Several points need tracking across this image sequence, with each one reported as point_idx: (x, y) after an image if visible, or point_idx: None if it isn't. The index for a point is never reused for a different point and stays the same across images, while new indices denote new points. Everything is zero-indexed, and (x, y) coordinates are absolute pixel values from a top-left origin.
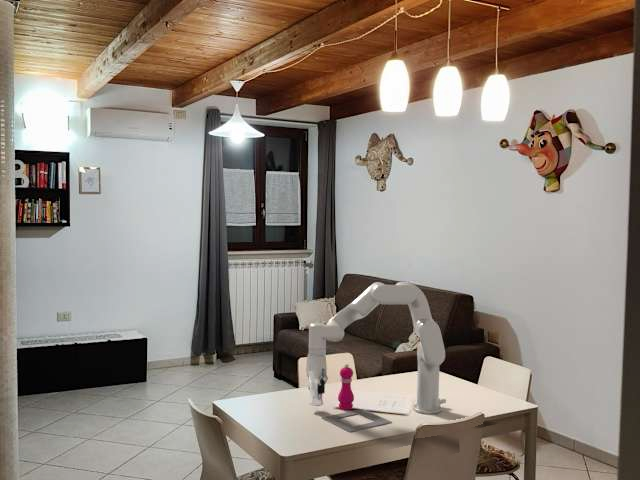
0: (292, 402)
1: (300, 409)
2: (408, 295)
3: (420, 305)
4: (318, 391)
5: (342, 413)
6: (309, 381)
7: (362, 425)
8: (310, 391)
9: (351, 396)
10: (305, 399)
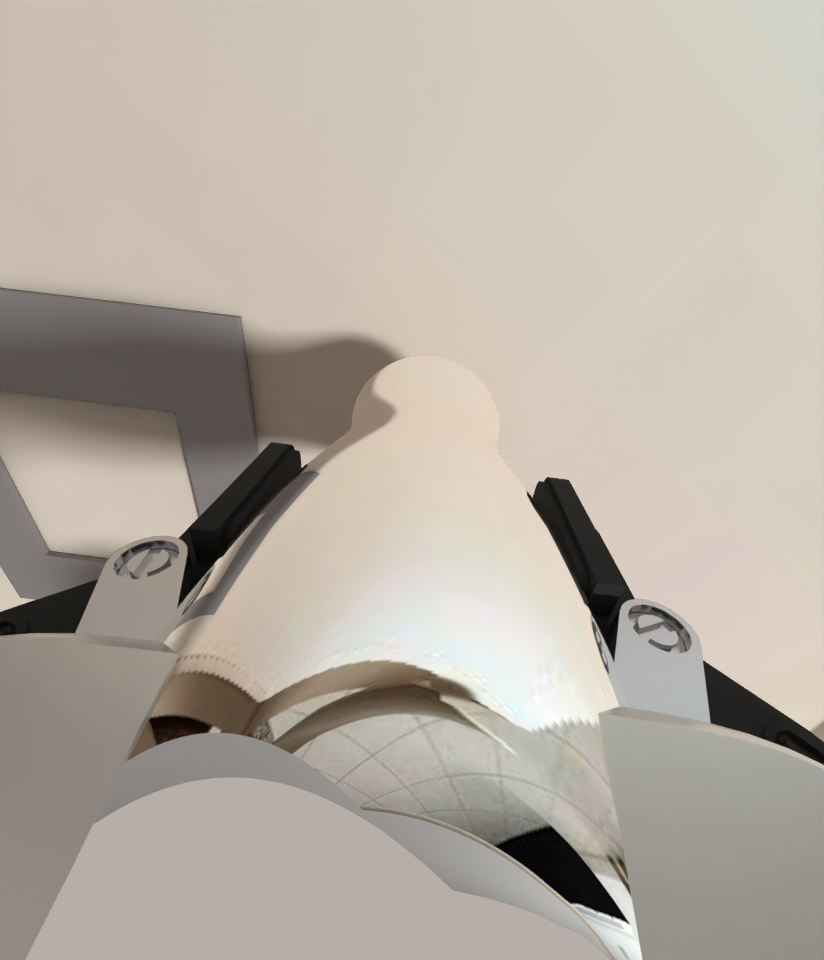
0: (788, 394)
1: (572, 315)
2: None
3: None
4: (257, 459)
5: None
6: (446, 500)
7: None
8: (444, 418)
9: None
10: (718, 528)
